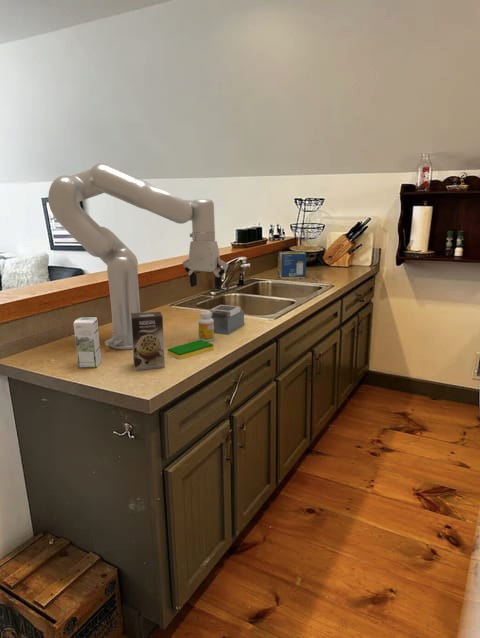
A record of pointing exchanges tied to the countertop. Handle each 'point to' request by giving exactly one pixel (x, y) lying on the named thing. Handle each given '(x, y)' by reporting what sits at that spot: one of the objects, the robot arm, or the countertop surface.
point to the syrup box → (87, 342)
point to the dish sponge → (190, 349)
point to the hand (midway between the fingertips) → (205, 287)
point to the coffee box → (147, 340)
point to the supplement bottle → (206, 326)
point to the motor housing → (227, 318)
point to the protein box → (292, 264)
